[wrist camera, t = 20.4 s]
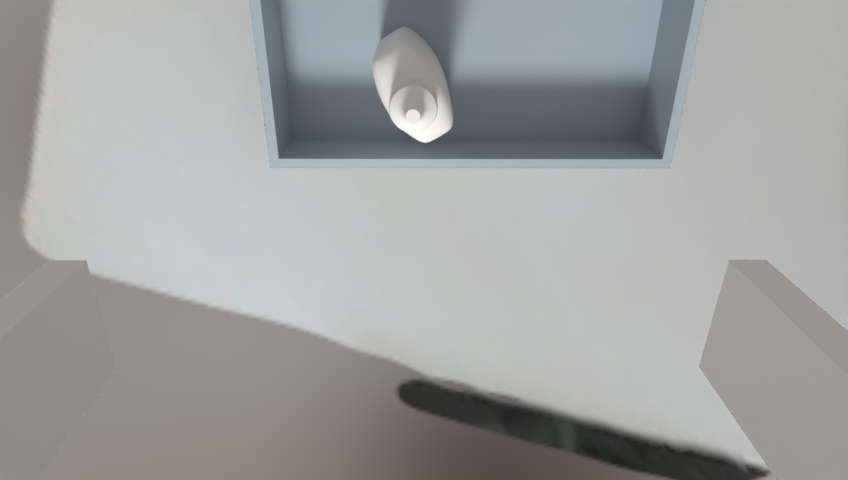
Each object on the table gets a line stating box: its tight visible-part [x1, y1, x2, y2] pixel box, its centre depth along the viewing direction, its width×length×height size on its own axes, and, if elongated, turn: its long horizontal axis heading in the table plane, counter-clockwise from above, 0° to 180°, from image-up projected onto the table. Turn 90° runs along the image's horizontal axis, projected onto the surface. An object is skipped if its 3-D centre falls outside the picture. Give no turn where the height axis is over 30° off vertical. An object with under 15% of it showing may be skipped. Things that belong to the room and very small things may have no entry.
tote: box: [249, 0, 706, 168], centre depth 34 cm, size 25×17×5 cm
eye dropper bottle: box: [372, 26, 453, 143], centre depth 32 cm, size 4×6×12 cm
